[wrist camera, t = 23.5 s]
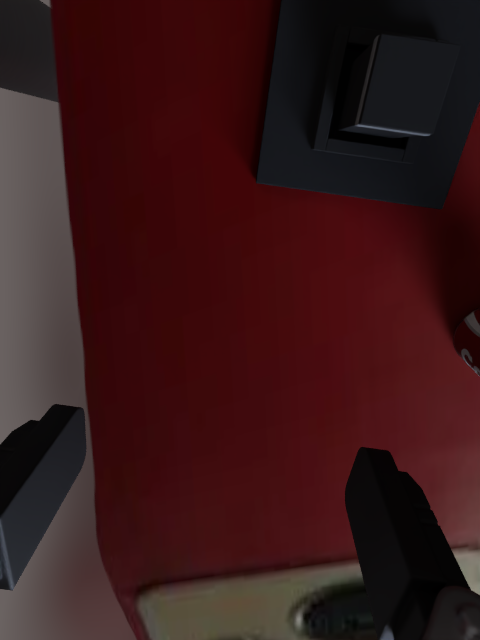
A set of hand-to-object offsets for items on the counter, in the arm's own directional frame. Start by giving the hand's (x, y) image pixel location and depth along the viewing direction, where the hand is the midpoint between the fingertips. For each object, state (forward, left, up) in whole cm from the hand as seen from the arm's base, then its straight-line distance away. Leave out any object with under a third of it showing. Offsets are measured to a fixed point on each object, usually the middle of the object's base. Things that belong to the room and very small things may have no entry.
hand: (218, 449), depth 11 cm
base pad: (+8, +13, -28) cm, 32 cm away
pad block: (+9, +13, -27) cm, 31 cm away
